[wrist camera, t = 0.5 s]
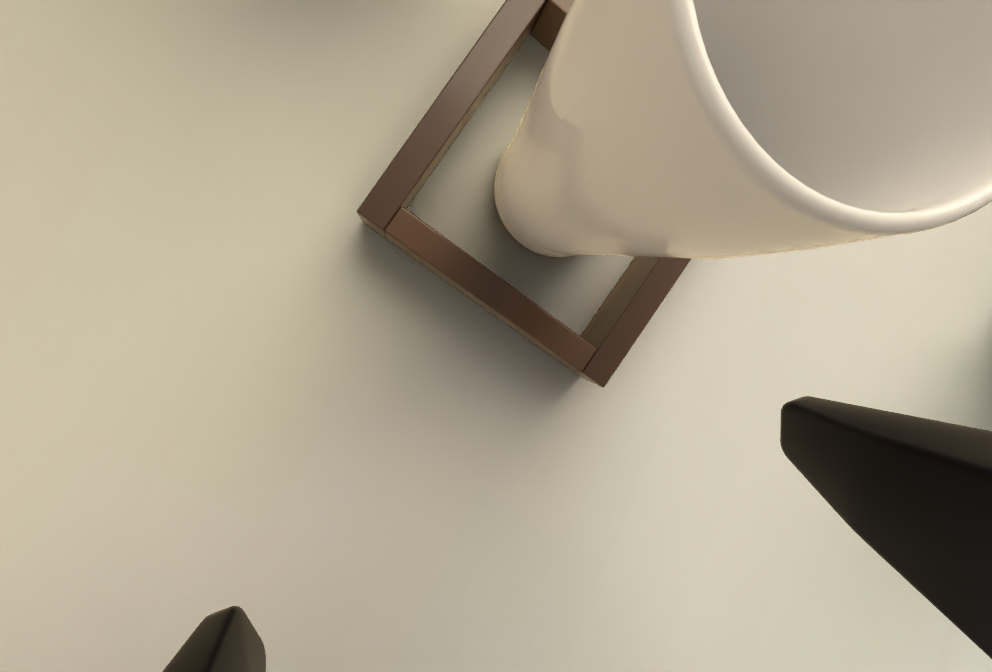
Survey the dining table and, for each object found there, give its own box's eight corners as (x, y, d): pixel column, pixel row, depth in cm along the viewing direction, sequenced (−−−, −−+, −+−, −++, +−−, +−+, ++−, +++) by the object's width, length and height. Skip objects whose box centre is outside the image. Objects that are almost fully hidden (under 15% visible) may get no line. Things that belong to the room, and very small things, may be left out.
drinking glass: (442, 218, 20) (551, 23, 5) (527, 75, 20) (860, -491, 6) (578, 305, 22) (956, 336, 7) (657, 170, 22) (1197, -83, 7)
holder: (722, 169, 22) (762, 154, 20) (581, 377, 22) (603, 388, 19) (523, -8, 20) (540, -49, 18) (361, 221, 20) (355, 211, 17)
